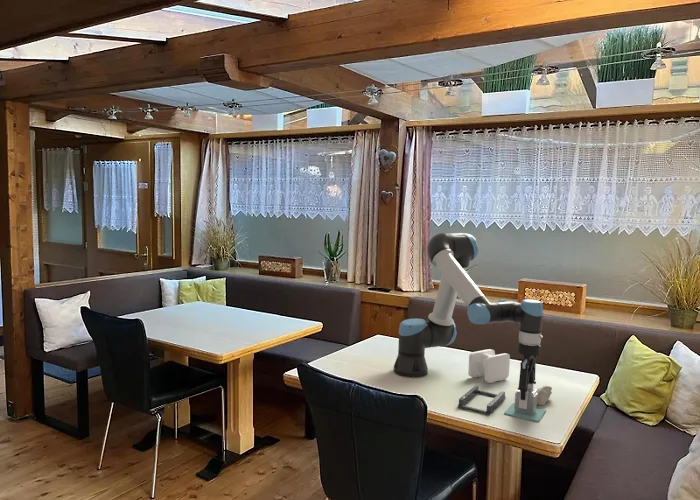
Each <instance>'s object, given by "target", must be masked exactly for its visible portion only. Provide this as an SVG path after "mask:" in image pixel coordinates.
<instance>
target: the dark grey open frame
mask: <svg viewBox="0 0 700 500" xmlns="http://www.w3.org/2000/svg"><path fill="white" fill-rule="evenodd" d="M479 388H480V386H479V385H474V386H473V387H471V388H470V389H469V390H468V391H467V392H465V393H464V394H463V395H462V396H461V397H460V398H459V399H458V405H457V409H460V410H466V411H469V412H474V413H477V414H481V415H485V416H486V415H487V416H491V415H492V413H494V411H495V410H496V409H498V407H499V406H501V404H502V403H503V402H505V400H506V399H507V398H506V391H504V390H501V391H500V392H499V393H493V392H489V391H483V390H479ZM478 395H483V396H489V397H493V399H492V400H490V402H488V403H487V404H486V409H485V410H484V409H481V408H476V407H472V406H467V404H469V403H470V402H471V401H472V400H473V399H474V398H475V397H476V396H478Z"/></svg>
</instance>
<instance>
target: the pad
mask: <svg viewBox="0 0 700 500" xmlns="http://www.w3.org/2000/svg"><path fill="white" fill-rule="evenodd" d="M514 405H515V402H512V404H511V405H510V406H508V408H507V409H506V410H505V411H504V413H503V415H506V416H509V417H514V418H519V419H523V420H526V421H527V420H528V421H530V422H536V423H539V422H540V421H541V420H542V418H543V416H544V415H545V414H546V412H547V410H546V409H544V408H543V409H542V408H537V409H536V411H535V412H534V414H533V415H532V416H529V415H524V414H520V413H516V412H515V409H514ZM540 419H541V420H540Z"/></svg>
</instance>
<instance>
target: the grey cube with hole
mask: <svg viewBox="0 0 700 500" xmlns="http://www.w3.org/2000/svg"><path fill="white" fill-rule="evenodd" d="M527 391H528V401H527V409H523V408H519V396H520V390H517V389H516V390H515V394H514V403H515V405H514V409H515V412H516V413H520V414H524V415H529V416H532V415H533V414H534V412H535V411H536V409H537V407H538V405H537V394H538V393H537V390H536V389H535V388H533V389H531V388H528V390H527Z"/></svg>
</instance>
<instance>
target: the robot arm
mask: <svg viewBox="0 0 700 500" xmlns="http://www.w3.org/2000/svg"><path fill="white" fill-rule="evenodd" d="M426 254H427V257H428V260H429V261H430V263H431V265H432V266H433V267H434V268H437V269H439V271H440V273H441V277H440V281H439V285H438V289H437V293H436V296H435V297H436V298H435V302H434V305H433V310H432V312H431V313H429V314H428V316H427V320H425V319H423V318H418V317H417V318H408V319H404V320H402V321H401V322H400V323H399V328H398V349H397V350H398V351H397V356H396V360H395V362H394V365H393V373H394V374H395V375H398V376H399V377H403V378H404V377H405V378H422V377H425V376H427V375H428V373H429V372H428V371H429V369H428V365H427V360H426V356H425V349H428V348H429V349H430V348H436V347H437V348H438V347H440V348H441V347H446V346H449V345H451V344H453V343H454V341H455V339H457V338H456V337H457V330H456V329H457V326H456V324H455V320H454V319H453V313H454V309H455V305H456V301H457V297H458V296H459V298H460V299H461V300H462V301H463V303H464V305H466V307H467V310H466V311H467V312H466V313H467V314H466V315H467V316H468V320H469V321H470V323H472V324H473V325H487V324H494V323H495V324H496V323H497V324H498V323H506V322H508V323H509V322H511V323H514V324H517V325H519V331H518V341H519V342H518V346H517V347H518V348H517V349H518V350H517V352H518V353H519V355H522V356H523V357H522V358H521V361H520V363H519V364H520V365H519V366H520V371H519V379H518V380H519V381H518V387H517V389H516V390H520V396H519V408H523V409H527V401H528V391H527V390H528V388H531V389H534V385H536V384H537V381H536V365H537V363H536V362H537V357H538V356H540V355H541V346H542V345H541V343H542V342H541V341H542V339H543V335H542V330H543V329H542V327H543V316H544V309H543V308H544V304H543V302H542V301H540V300H537V299H529V298H528V299H527V298H526V299H522V300H521V302H518V301H513V300H511V299H502V298H501V299H499V300H498V301H495V302H494V301H493V302H490V301H489V300H488V298H487V297H486V296H485V294H483V292H482V291H481V290H480V288H479V287H478V286H477V285H476V283H475V281H473V279H472V278H471V277H470V275H469V274H468V273H467V272H466V271H465V270H466V269H467V268H469V266H470V265H469V264H470V262H471V261H473V260H475V259H476V258H477V257H478V255H479V244H478V242H477V239H476V238H475V237H474V236H473V234H470V233H465V232H447V233H446V232H441V233H437V234H434V236H432V237H431V238H430V239H429V241H428V244H427V247H426Z"/></svg>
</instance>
